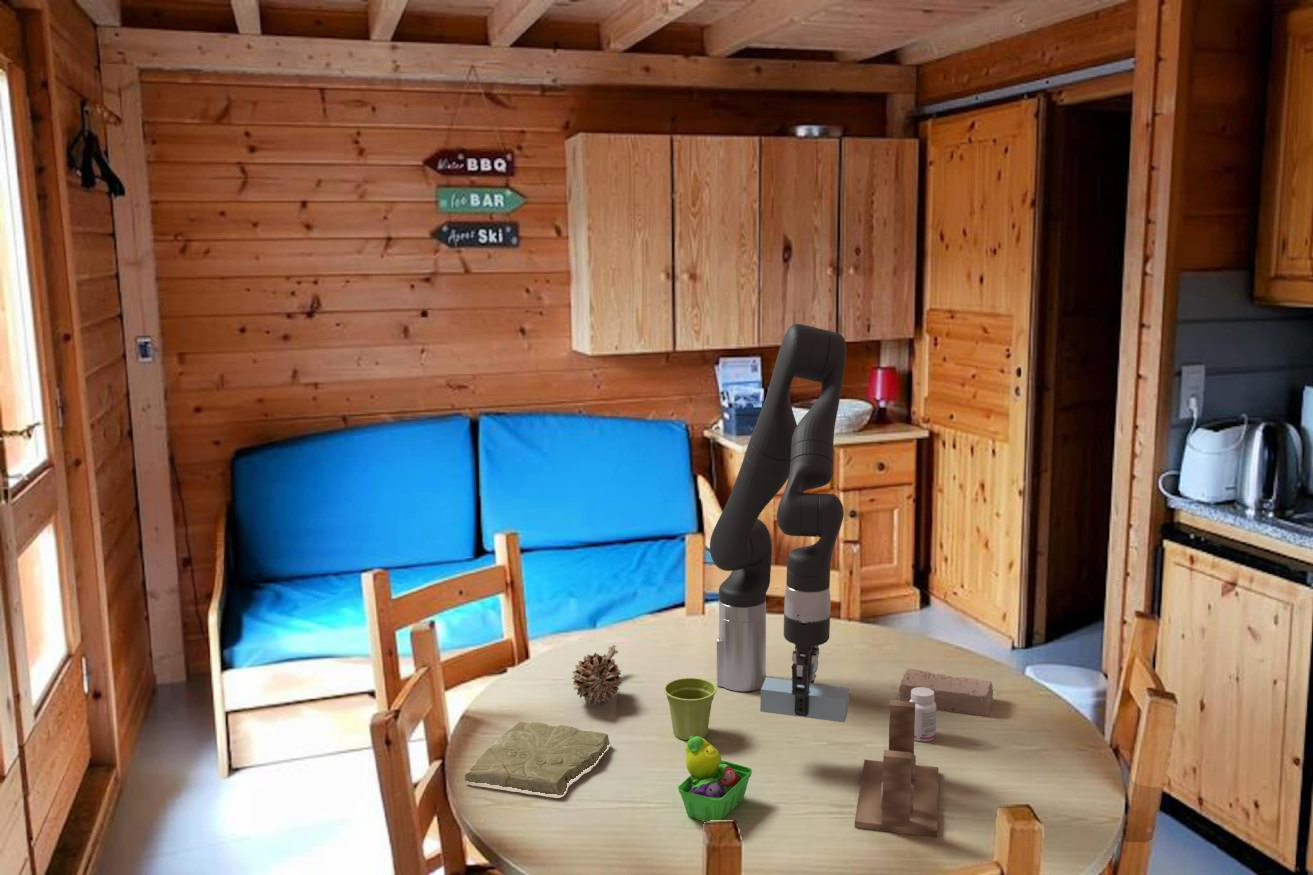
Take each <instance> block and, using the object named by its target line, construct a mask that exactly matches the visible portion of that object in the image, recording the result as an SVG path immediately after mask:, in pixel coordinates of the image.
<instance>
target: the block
mask: <svg viewBox="0 0 1313 875" xmlns="http://www.w3.org/2000/svg"><path fill="white" fill-rule="evenodd" d="M798 687H803V688H804V686H803V685H798ZM849 699H850V687H849V686H842V685H834V684H833V685H832V684H825V683H818V682H817V683H816V682H814V683H810V694H809V713H808V715H807V716H799V715H796V714H795V695H792V679H784V678H777V677H776V678H775V677H768V676H766V679H765V681H764V683H763V686H762V688H760V708H759V709H760V713H768V714H775V715H783V716H791V717H800V718H806V719H816V720H822V721H823V720H824V721H829V722H838V723H846V719H847V716H848V712H849V704H850V703H849V701H850V700H849Z"/></svg>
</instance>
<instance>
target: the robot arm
mask: <svg viewBox="0 0 1313 875" xmlns="http://www.w3.org/2000/svg"><path fill="white" fill-rule="evenodd" d="M846 361H847V343H846V339H845V337H844V336H843V335H842V334H840V333H838V332H835V331H831V330H828V329H822V328H818V327H814V326H810V325H806V324H802V323H792V324H791V325H790V326H789V327H788V328H787V330H786V331H785V333H784V335H783V337H782V340H781V344H780V347H779V350H778V354H777V356H776V360H775V364H774V368H773V371H772V375H771V379H770V381H769V386H768V389H767V393H766V397H765V398H764V399H765V400H764V402H763V404H762V408H761V410H760V413H759V416H758V418H757V421H756V424H755V426H754V428H753V431H752V434H751V435H750V438H749V442H748V443H747V447H746V450H745V453H744V455H743V459H742V462H741V466H740V468H739V471H738V473H737V476H736V478H735V482H734V484H733V487H732V490H731V493H730V495H729V497H728V500H727V502H725V503H726V504H725V505H724V508H723V509H722V512H721V514H720V516H719V518H718V520H717V522H716V524H715V527H714V528H713V530H712V532H711V536H710V540H709V554H710V556H711V560H712V562H713V563H714V565H715V566H716V567H717V568H718V569H720V570H722V571H725V572H730V574H729V575H728V577H727V578H726V579H725V580H724V581H722V583H721V584H720V585H719V588H718V638H717V639H716V687H721V688H725V689H727V690H730V691H735V692H751V691H752V692H753V691H758V690H761V688H762V686H763V683H764V681H765V679H766V677H767V667H766V666H767V663H766V662H767V656H766V655H767V593H768V590H769V587H770V584H771V574H772V573H771V572H772V571H771V569H772V557H773V556H772V555H773V554H772V553H773V551H772V550H773V549H772V538H771V534H770V531H769V529H768V526H766V524H765V523H764V522H763V521H762V520H760V519H759V516H760V514H761V513H762V512H763V511H764V510H765V508H766V507H767V506H768V505H769V503H771V501H772V500H773V499H774V498H775V496H776V495H777V494H778V493H779V492H780V491H781V489H782V488H783V487H784V485H785V487H784V491H783V493H782V496H781V498H780V500H779V504H778V507H777V510H776V523H777V526H778V528H779V530H780V531H781V532H782V533H783V534H785V535H786V536H789V537H790V536H791V537H809V538H811V537H815V538H816V537H818V538H819V539H818V540H817V541H816V542H815V543H813V544H811V545H807V546H802V547H797V548H794V549H792V550H790V551H789V552H788V553H787V554H788V555H787V558H786V586H785V593H784V602H783V603H784V604H783V606H784V607H783V610H784V611H783V637H784V639H785V640H786V642H789V643H792V644H794V645H795V646H794V650H792V656H791V662H792V665H791V667H790V668H791V677H792V678H791V680H792V695H795V714H796V715H799V716H807V715H808V713H809V694H810V683H815V680H816V678H817V675H816V673H817V671H818V668H819V667H818V666H819V655H820V647H819V646H822V645H823V644H826V643H827V642H828V640H830V635H831V634H830V630H831V629H830V627H831V626H830V625H831V591H830V590H831V589H830V587H831V586H830V585H831V583H830V582H831V564H832V562H831V561H832V556H833V552H834V551H833V550H834V548H835V544H836V540H837V538H838V535H839V532H840V530H841V527H842V524H843V520H844V514H845V511H844V510H845V509H844V505H843V503H842V501H841V499H840V498H839V497H838V496H837V495H835V494H832V493H822V492H821V493H820V492H819V493H818V492H815V493H814V492H806V491H808V490H809V491H810V490H813V489H817V488H818V489H819V488H821V487H825V486H827V485H828V484H830V483H831V481H832V479H833V475H834V473H833V472H834V444H835V443H834V439H835V428H836V424H837V416H838V412H839V411H838V410H839V404H840V400H841V394H842V390H843V389H842V388H843V381H844V375H845V371H846V370H845V369H846V363H847V362H846ZM794 378H799V379H803V380H807V381H812V382H816V383H820V384H821V385H820V387H821V388H820V393H819V396H818V398H817V399H816V401H815V402H814V404H813V405H812V407H811V408H810V409H809V410H808V411H807V412H806V413H805V414H804V416H803V417H802V418H801V419H800V420H799V422H798V423H797V421H796V417H795V414H794V411H793V407H792V406H793V405H792V402H791V385H792V384H793V381H794ZM798 685H803V686H804V688H803V687H798Z"/></svg>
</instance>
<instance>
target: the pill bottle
mask: <svg viewBox="0 0 1313 875" xmlns="http://www.w3.org/2000/svg"><path fill="white" fill-rule="evenodd" d="M909 702H915V732H914V741H917V742H924V743H926V742H930V741H933V740H934V739H935V738H936V732H937V731H936V730H937V727H936V725H937V710H936V703H935V702H934V691H933V690H931V689H929V688H925V687H916V688H913V689H912V690H911V700H910V701H909Z"/></svg>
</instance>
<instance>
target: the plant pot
mask: <svg viewBox="0 0 1313 875" xmlns="http://www.w3.org/2000/svg"><path fill="white" fill-rule="evenodd" d="M717 687H718V686H717V684H715V683H713V682H712V681H710V680H708V679H705V678H701V677H681V678H677V679H673V680H671V681H669V682H668V683H666V684H665V685H664V687H663V692H664V694H665V695H666V699H667V701H668V703H669V705H668V706H669V711H670V718H671V725H672V732H673V735H674V736H675V737H676V738H678V739H680V740H684V741H688V740H689V739H690V737H691V736H694V737H696V736H699V737H701V738H704V739H705V737H706V736H708V735H707V734H708V732H709V725H710V717H711V711H712V710H711V709H712V703H713V700H714V697H715V695H716V693H717V691H718V688H717Z"/></svg>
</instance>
